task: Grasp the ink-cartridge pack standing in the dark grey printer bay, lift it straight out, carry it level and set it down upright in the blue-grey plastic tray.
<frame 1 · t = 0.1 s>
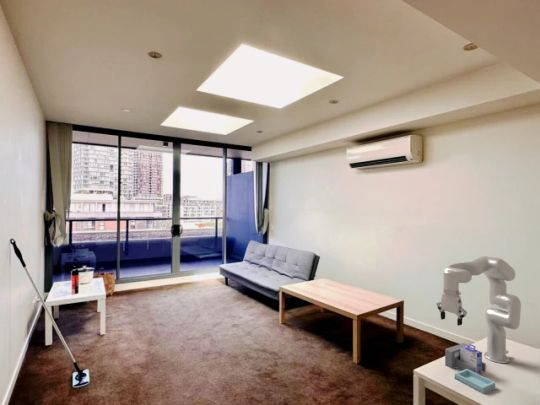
hand: (451, 321, 174), 31 cm above the table, fingers open, 9 cm apart
tray: (474, 383, 168), on the table
ink cartridge box: (471, 370, 181), on the table
printer bay: (471, 369, 181), on the table
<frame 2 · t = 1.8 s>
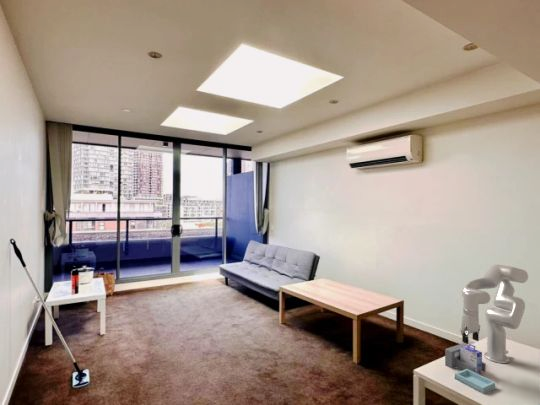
hand: (470, 341, 181), 17 cm above the table, fingers open, 9 cm apart
nothing on the table moved.
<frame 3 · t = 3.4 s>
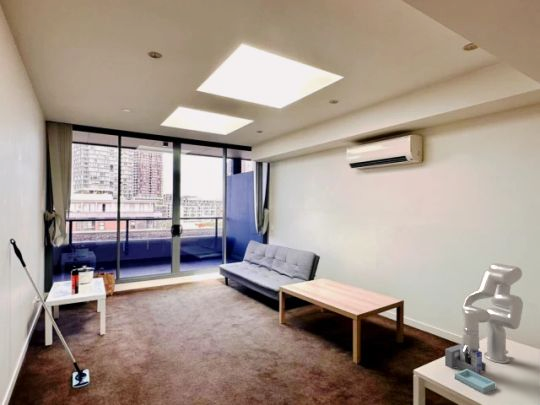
hand: (471, 361, 181), 5 cm above the table, fingers closed on ink cartridge box, 5 cm apart
ink cartridge box: (471, 370, 181), on the table, touching gripper
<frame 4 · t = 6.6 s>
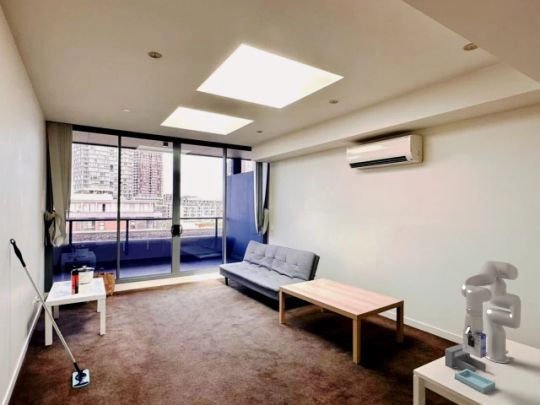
hand: (474, 344, 168), 21 cm above the table, fingers closed on ink cartridge box, 5 cm apart
ink cartridge box: (474, 354, 168), point 16 cm above the table, touching gripper
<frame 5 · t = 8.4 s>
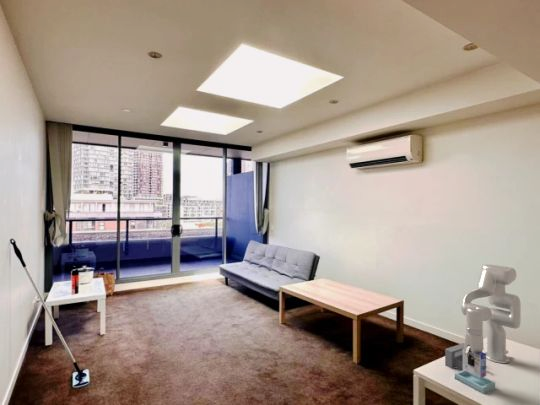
hand: (474, 363, 167), 11 cm above the table, fingers closed on ink cartridge box, 5 cm apart
ink cartridge box: (474, 373, 167), point 6 cm above the table, touching gripper
when the fingers open (7 cm above the table, at t = 9.6 s): ink cartridge box drops 1 cm, resting on tray.
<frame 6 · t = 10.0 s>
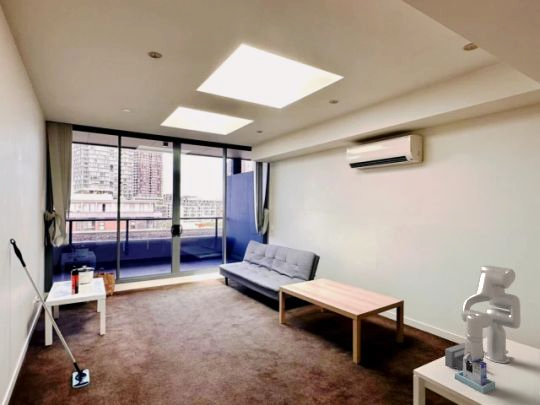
hand: (474, 369, 168), 8 cm above the table, fingers open, 8 cm apart
ink cartridge box: (474, 382, 168), resting on tray
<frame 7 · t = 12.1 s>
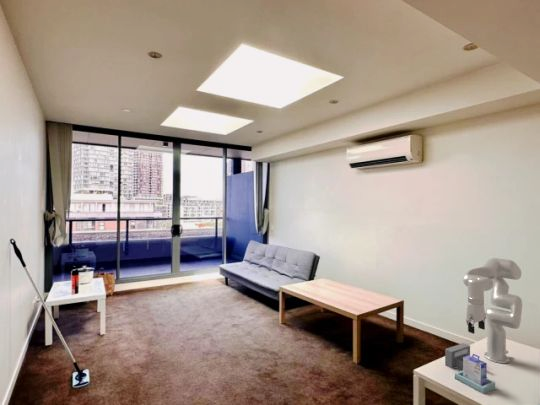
hand: (476, 330, 173), 27 cm above the table, fingers open, 9 cm apart
nothing on the table moved.
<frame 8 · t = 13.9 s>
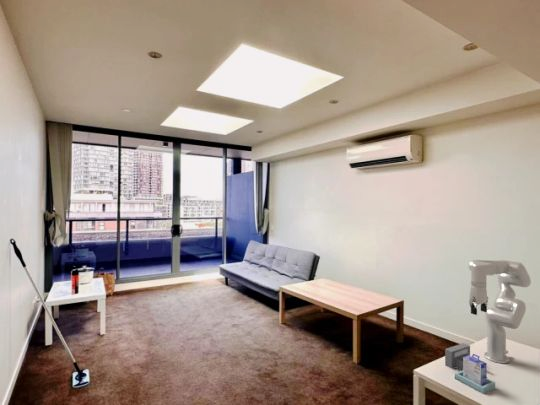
hand: (478, 312, 182), 33 cm above the table, fingers open, 9 cm apart
nothing on the table moved.
at the end: ink cartridge box inside the target area on the tray (0.4 cm from its centre), point 0.4 cm above the tray's base; ink cartridge box tilted 0°; the gripper is holding nothing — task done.
